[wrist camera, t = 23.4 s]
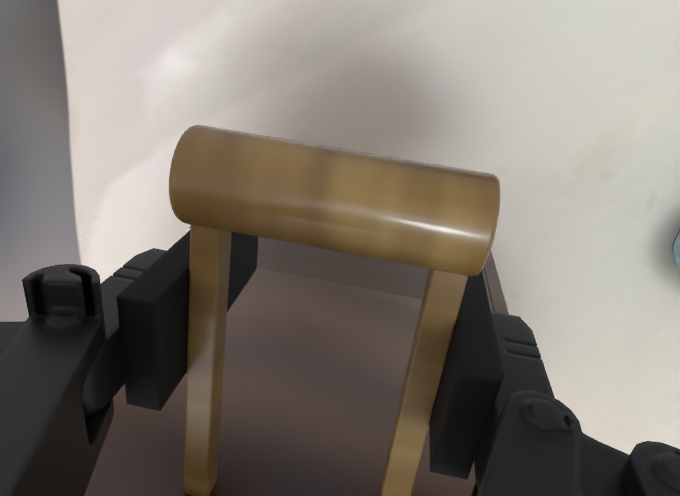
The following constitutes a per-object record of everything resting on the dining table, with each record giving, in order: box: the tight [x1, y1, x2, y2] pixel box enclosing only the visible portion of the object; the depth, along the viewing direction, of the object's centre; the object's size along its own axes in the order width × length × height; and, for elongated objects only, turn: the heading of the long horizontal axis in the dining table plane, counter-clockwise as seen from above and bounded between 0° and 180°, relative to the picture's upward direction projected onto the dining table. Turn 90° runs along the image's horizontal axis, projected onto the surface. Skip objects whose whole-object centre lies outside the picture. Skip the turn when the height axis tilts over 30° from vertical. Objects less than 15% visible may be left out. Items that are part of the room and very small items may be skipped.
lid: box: [84, 125, 500, 496], centre depth 16 cm, size 16×17×10 cm
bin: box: [257, 237, 509, 315], centre depth 35 cm, size 16×17×13 cm
